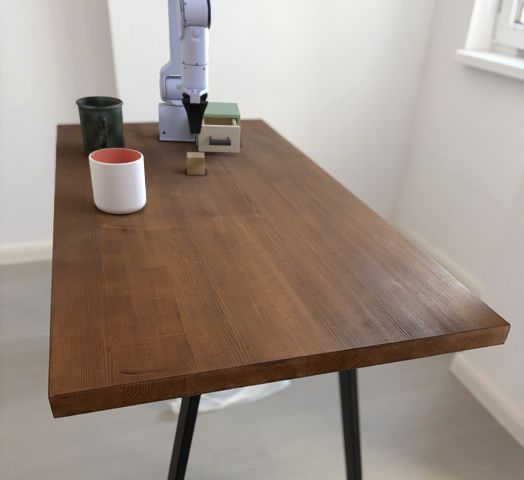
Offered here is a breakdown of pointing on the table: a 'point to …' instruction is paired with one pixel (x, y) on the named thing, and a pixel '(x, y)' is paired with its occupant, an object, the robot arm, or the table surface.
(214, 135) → the drawer
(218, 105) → the cabinet
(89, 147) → the mug
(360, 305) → the table surface
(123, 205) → the cup
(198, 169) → the block
